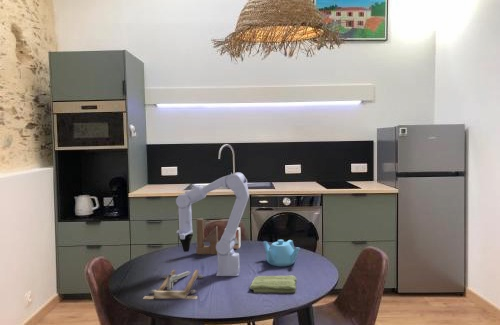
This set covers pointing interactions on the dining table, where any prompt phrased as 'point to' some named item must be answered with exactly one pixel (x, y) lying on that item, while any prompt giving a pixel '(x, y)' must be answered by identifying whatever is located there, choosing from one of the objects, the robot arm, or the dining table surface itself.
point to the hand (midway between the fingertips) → (186, 251)
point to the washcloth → (274, 284)
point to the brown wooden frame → (206, 239)
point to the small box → (237, 239)
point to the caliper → (175, 279)
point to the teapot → (281, 253)
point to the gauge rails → (175, 294)
